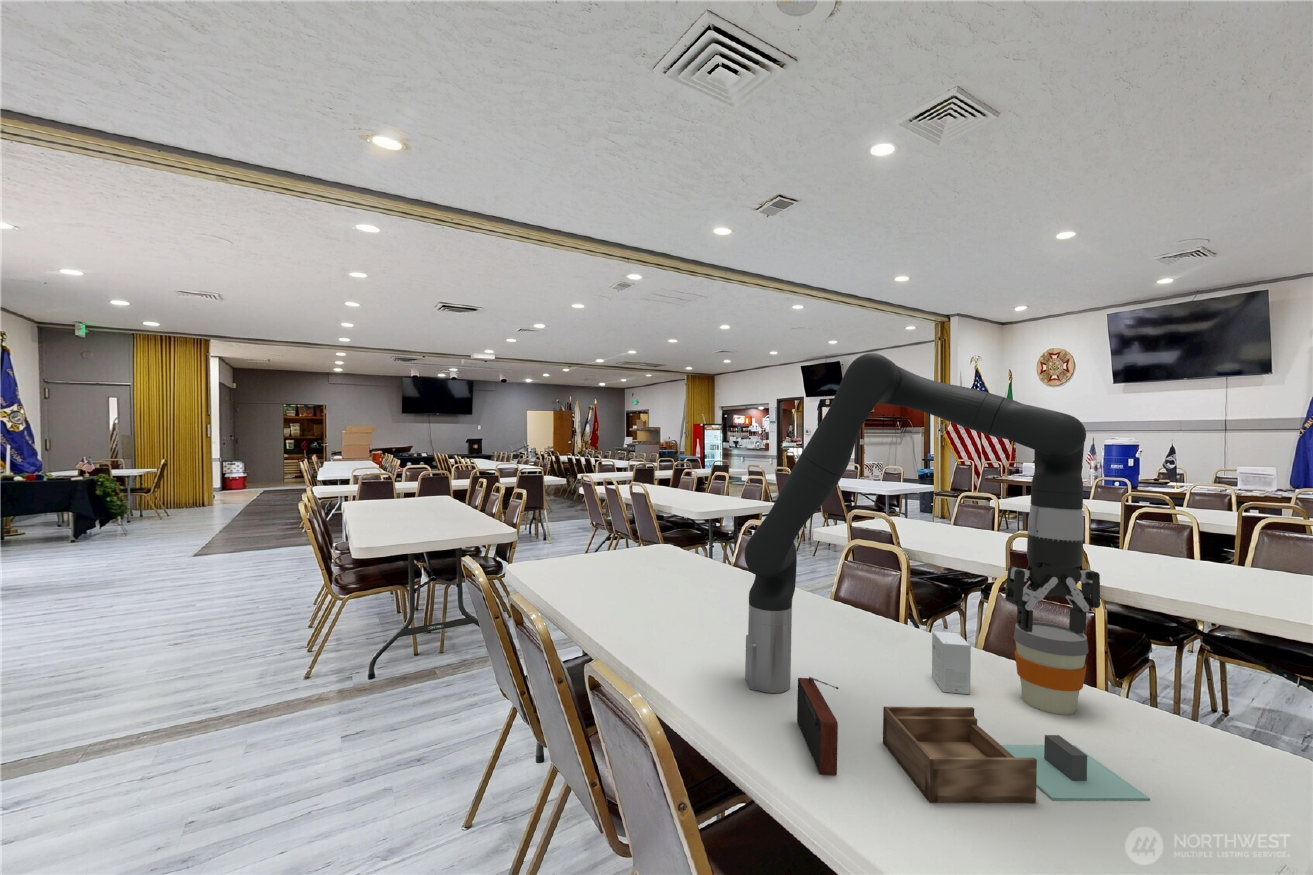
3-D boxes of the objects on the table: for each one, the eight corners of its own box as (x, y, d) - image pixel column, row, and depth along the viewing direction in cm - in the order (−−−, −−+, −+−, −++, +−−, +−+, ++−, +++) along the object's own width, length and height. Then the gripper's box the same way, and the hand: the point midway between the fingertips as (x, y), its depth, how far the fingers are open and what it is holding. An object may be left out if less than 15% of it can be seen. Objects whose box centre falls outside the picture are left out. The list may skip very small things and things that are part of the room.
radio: (794, 722, 105) (796, 642, 105) (811, 722, 105) (812, 643, 105) (820, 783, 86) (822, 686, 86) (840, 784, 86) (842, 687, 86)
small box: (970, 695, 117) (971, 645, 117) (942, 692, 118) (942, 643, 118) (958, 679, 125) (958, 632, 125) (931, 676, 126) (932, 630, 126)
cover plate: (1052, 804, 83) (1052, 771, 83) (991, 750, 97) (992, 721, 97) (1150, 804, 83) (1150, 771, 83) (1075, 750, 98) (1075, 722, 98)
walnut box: (929, 802, 82) (930, 759, 82) (882, 742, 98) (883, 706, 98) (1036, 802, 82) (1036, 759, 82) (972, 743, 98) (972, 707, 98)
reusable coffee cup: (1066, 724, 106) (1067, 645, 105) (999, 696, 117) (1000, 625, 117) (1100, 710, 111) (1101, 636, 111) (1033, 685, 122) (1034, 617, 122)
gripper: (1028, 537, 88) (1024, 639, 88) (1116, 539, 88) (1112, 641, 89) (998, 529, 96) (994, 622, 96) (1079, 531, 96) (1075, 624, 96)
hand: (1051, 631), depth 92 cm, fingers open, 8 cm apart
